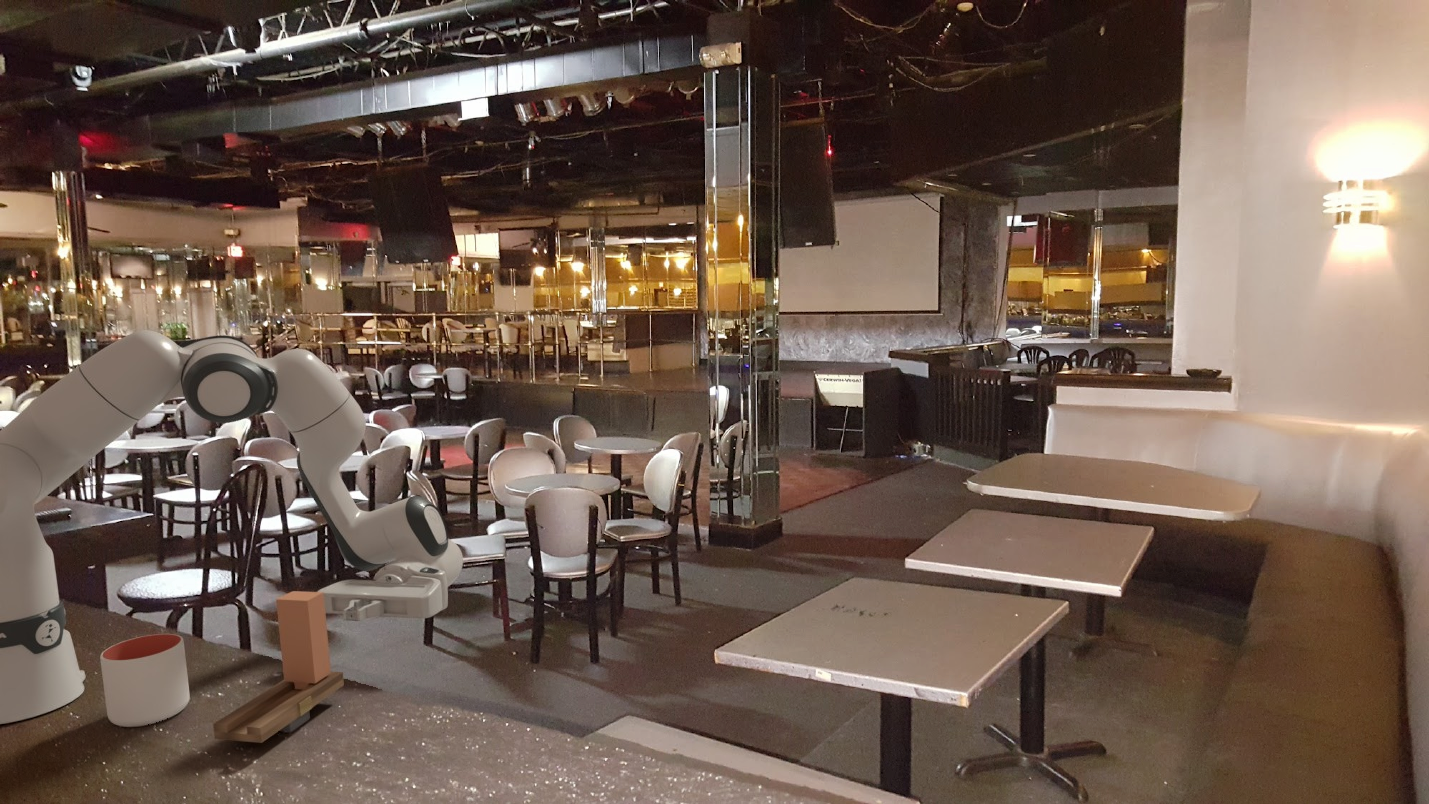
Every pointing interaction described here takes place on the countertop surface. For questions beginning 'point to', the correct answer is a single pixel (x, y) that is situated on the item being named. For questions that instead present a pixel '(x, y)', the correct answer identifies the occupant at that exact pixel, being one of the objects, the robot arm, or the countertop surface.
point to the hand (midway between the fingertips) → (351, 616)
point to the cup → (145, 679)
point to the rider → (303, 637)
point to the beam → (276, 710)
